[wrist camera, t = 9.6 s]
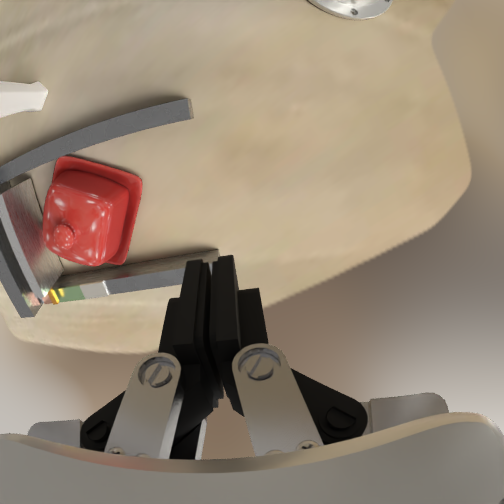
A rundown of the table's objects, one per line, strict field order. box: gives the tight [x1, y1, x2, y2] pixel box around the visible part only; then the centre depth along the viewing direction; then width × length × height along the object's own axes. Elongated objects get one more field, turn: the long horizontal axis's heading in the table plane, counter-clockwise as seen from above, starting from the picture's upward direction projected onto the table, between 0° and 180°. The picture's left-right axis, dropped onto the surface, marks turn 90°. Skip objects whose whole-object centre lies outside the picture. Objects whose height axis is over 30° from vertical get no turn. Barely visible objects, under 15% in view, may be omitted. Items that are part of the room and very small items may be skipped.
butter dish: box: [43, 156, 142, 266], centre depth 25 cm, size 12×12×8 cm
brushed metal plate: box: [0, 178, 64, 305], centre depth 26 cm, size 16×2×6 cm, turn 8°
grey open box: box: [0, 98, 220, 318], centre depth 26 cm, size 19×28×6 cm, turn 98°
